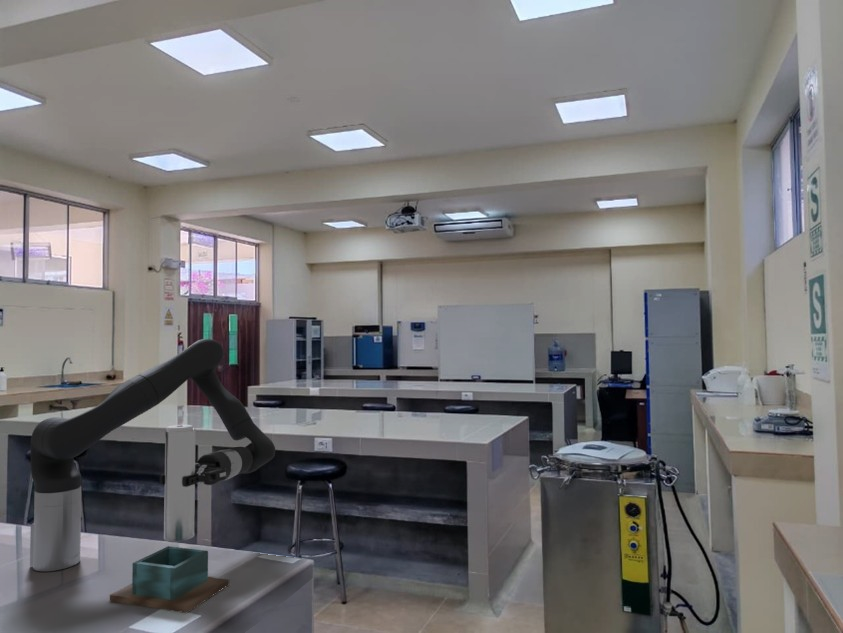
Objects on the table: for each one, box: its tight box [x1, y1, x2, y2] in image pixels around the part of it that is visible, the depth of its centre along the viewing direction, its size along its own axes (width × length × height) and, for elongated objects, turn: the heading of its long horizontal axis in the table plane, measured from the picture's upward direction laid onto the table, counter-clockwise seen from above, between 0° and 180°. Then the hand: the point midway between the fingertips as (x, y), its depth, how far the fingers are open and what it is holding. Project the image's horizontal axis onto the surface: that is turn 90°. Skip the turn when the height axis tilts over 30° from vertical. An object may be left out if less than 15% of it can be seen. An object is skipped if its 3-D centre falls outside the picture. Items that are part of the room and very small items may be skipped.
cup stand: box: [109, 546, 230, 613], centre depth 120 cm, size 18×13×7 cm
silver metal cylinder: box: [163, 424, 196, 542], centre depth 135 cm, size 6×6×25 cm
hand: (172, 481), depth 133 cm, fingers closed on silver metal cylinder, 5 cm apart
